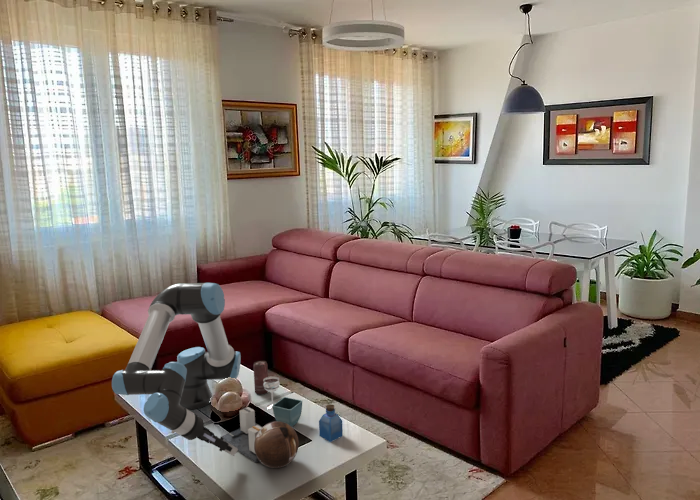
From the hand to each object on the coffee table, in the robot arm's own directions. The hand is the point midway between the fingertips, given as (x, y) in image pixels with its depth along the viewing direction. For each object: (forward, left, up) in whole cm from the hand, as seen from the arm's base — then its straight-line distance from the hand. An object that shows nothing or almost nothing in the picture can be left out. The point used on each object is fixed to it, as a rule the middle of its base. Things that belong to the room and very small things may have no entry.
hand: (234, 451), depth 186 cm
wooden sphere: (+14, +4, -5) cm, 15 cm away
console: (0, +15, -5) cm, 16 cm away
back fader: (-5, +20, -3) cm, 21 cm away
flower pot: (+7, +31, -5) cm, 32 cm away
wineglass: (-5, +44, -5) cm, 45 cm away
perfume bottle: (+26, +26, -5) cm, 37 cm away
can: (-15, +56, -5) cm, 58 cm away
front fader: (+5, +8, -3) cm, 10 cm away
